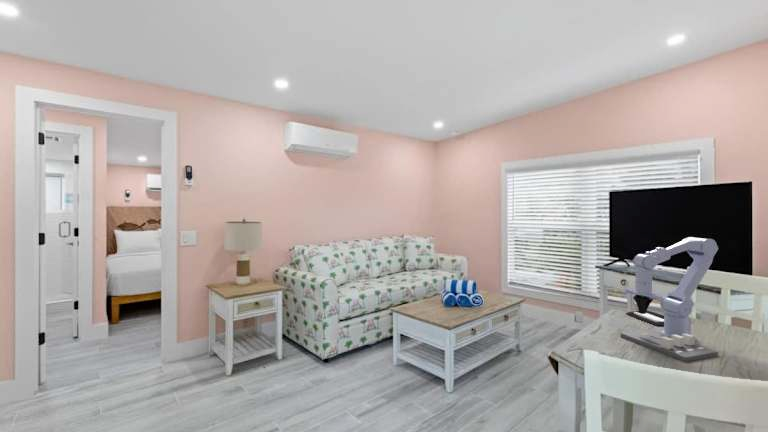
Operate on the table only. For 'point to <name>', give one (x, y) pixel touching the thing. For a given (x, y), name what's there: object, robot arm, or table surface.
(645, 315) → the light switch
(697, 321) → the table surface
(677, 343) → the handle
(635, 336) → the breaker panel
